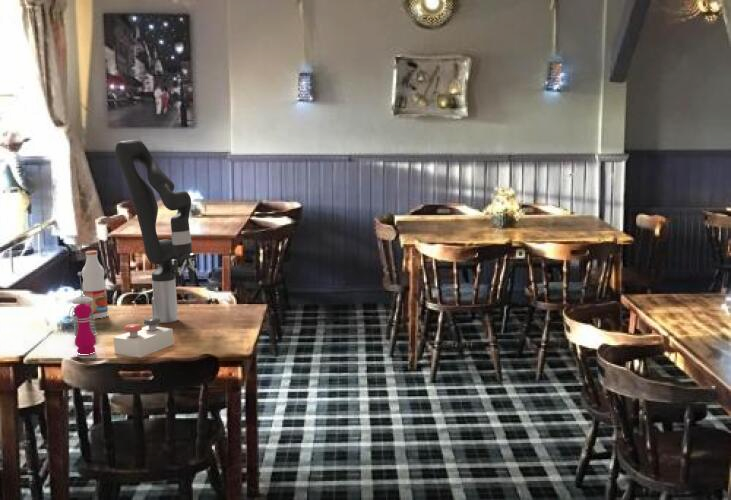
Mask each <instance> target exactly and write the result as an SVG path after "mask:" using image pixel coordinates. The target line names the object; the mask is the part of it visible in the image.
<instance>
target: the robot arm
mask: <svg viewBox="0 0 731 500" xmlns="http://www.w3.org/2000/svg"><path fill="white" fill-rule="evenodd" d="M115 156H116V159H117V162H118V164H119V166H120V169H121V172H122V174H123V177H124V179H125V183H126V184H127V187H128V191H129V195H130V198H131V202H132V204H133V209H134V211H135V214H136V218H137V221H138V225H139V229H140V233H141V236H142V237H141V238H142V242H143V243H142V244H143V247H144V253H145V256H146V259H148V261H149V262H150V263H151V264H152V265H155V266H157V268H156V269H155V270H153V272H152V274H151V283H152V284H151V286H152V298H151V308H152V309H151V310H152V311H151V312H152V318H160V320H161V323H160V324H167V323H173V322H177V321H178V320H179V315H178V302H177V301H178V300H177V299H178V298H177V287H176V286H182V285H183V281H182V280H183V279H182V272H183V271H184V269H187V270H188V272H187V273H188V280H189V281H195V280H196V279H195V271H196V269H198V263H197V262H198V261H197V255H196V254H195V253H193V246H192V245H193V244H192V237H191V230H190V229H191V228H190V221H189V220H190V214H191V213H190V212H191V209H192V208H191V207H192V199H191V196H190V194H189V193H188V192H187V191H185V190H180V191H174V190H175V184H174V183H173V181H172V180H171V179H170V178H169V177H168V176H167V175H166V174H165V172H164V171H163V170H162V168H160V166H159V164H157V161H156V160H155V158H154V157H153V156H152V154H151V152H150V151H149V149H148V147H147V146H146V145H145V144H144V143H143V141H142V140H140V139H129V140H121V141H119V142H117V143H116V145H115ZM135 163H140V164H141V165H142V166H144V168H145V169H146V176H147V180H148V183H149V184H150V185H149V184H148V183H147V182H146V181H145V180H144V179H143V178H142V177H141V176H140V174H139V173H138V170H137V169H136V166H135ZM152 188H153V189H154V190H155V191H156V193H158V195H159V197H160V199H161V201H162V204H163V206H164V208H166V209H167V210H169V211H177V212H176V214H175V215H174V216H172V217H171V218H170V229H171V235H170V237H171V239H168V238H167V239H160V240H159V238H158V237H159V236H158V234H157V219H158V213H159V205H158V202H157V199H156V196H155V192H154V190H153V189H152Z"/></svg>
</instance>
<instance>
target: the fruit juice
mask: <svg viewBox="0 0 731 500" xmlns="http://www.w3.org/2000/svg"><path fill="white" fill-rule="evenodd" d="M98 253H99V252H98V250H87V251H85V257H86V258H85V264H84V266H83V268H82V270H81V272H82V273H83V275H81V276H82V279H83V281H82V295H83V294H84V295H85V296H86V297H90V298H92V299H93V301H92V302H89V303H84V304H88V305H89V306H90V307H91V309H92V310H93V311H92V313H94V318H101V319H104V318H103V317H105V318H107V317H108V316H109V307H108V296H107V295H108V294H107V286H106V285H107V284H106V280H105V278H104V277H105V268H104V267H103V266H102V265H101V263H100V262H99V258H98ZM106 316H107V317H106Z"/></svg>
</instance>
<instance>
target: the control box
mask: <svg viewBox="0 0 731 500" xmlns="http://www.w3.org/2000/svg"><path fill="white" fill-rule="evenodd" d="M156 327H157V331H154V332H152V331H149V325H144V326H142V330H140V331H138V337H137V338H130V332H126V333H122V334H119V335H117V336H115V337H113V345H114V346H113V348H114V354H116V355H122V356H128V357H135V358H142V357H144V356H148V355H150V354H152V353H153V354H154V353H155V352H158V351H160V350H163V349H165V348H168V347H170V346H173V345H174V330H173V328H168V327H160V326H156Z"/></svg>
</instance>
